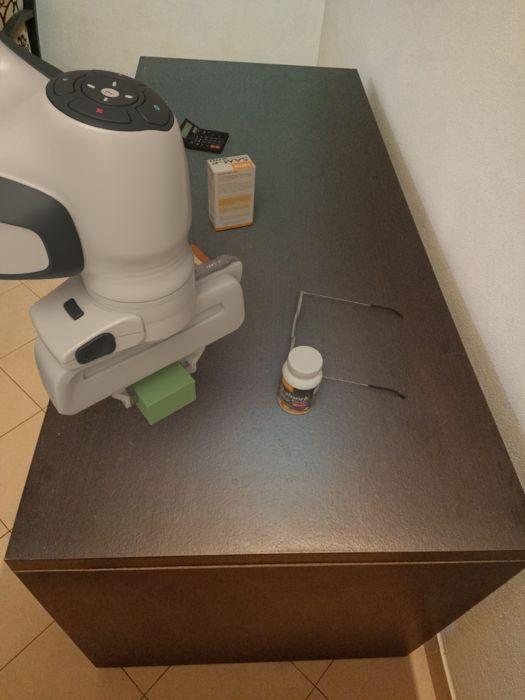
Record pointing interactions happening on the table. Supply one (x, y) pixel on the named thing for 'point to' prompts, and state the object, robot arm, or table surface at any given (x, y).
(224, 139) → the calculator
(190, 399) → the green block
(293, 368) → the pill bottle
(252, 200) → the supplement box
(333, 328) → the table surface
